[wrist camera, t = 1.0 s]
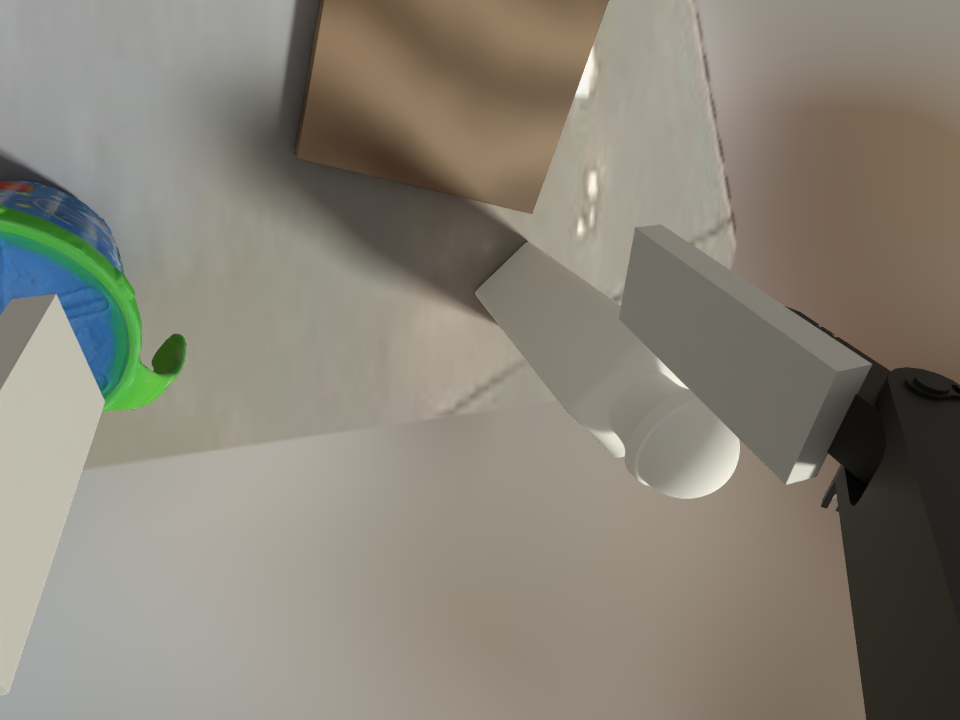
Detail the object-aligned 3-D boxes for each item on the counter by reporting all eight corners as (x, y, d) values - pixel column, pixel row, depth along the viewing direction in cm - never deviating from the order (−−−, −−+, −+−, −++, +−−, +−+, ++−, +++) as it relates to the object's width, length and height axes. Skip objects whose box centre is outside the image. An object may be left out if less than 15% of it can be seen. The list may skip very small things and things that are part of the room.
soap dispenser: (570, 283, 46) (787, 462, 30) (511, 339, 47) (690, 544, 30) (528, 230, 42) (752, 402, 25) (464, 292, 43) (641, 500, 26)
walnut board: (353, -196, 27) (359, -202, 26) (615, -50, 34) (627, -51, 33) (294, 153, 33) (297, 158, 32) (524, 208, 41) (532, 213, 40)
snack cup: (229, 275, 36) (240, 361, 28) (108, 387, 36) (85, 501, 28) (-59, 49, 26) (-168, 83, 18) (-218, 209, 26) (-390, 310, 18)
